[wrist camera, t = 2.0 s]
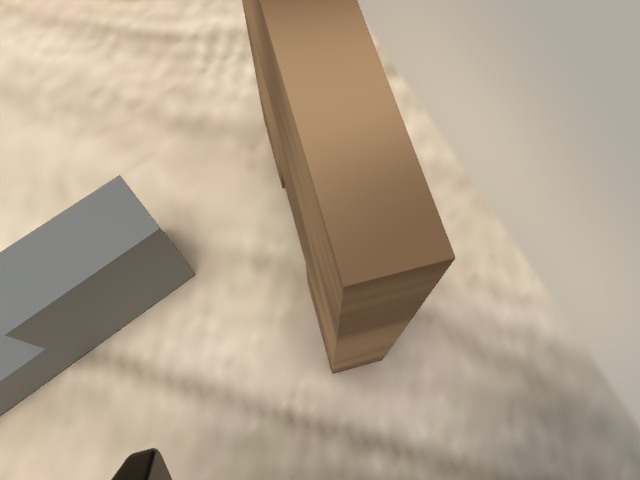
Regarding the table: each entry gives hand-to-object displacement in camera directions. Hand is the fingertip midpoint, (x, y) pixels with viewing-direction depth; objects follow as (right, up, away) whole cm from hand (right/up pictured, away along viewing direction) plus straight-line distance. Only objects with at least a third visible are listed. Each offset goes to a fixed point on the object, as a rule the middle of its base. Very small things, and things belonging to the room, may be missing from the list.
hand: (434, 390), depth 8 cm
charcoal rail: (-14, -3, +11) cm, 18 cm away
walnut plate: (-2, +3, +14) cm, 14 cm away
